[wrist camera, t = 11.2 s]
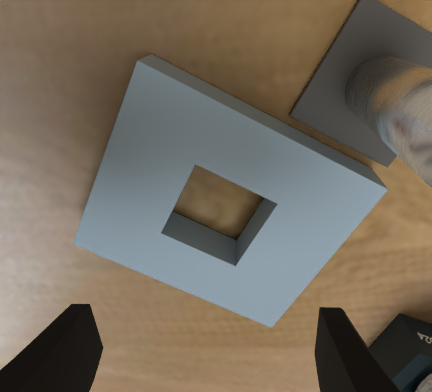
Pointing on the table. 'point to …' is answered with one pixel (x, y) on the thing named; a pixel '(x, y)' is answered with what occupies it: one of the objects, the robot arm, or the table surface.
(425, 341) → the watch
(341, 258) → the table surface
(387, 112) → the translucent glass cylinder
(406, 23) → the rubber mat
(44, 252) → the table surface
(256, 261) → the light blue flat block
